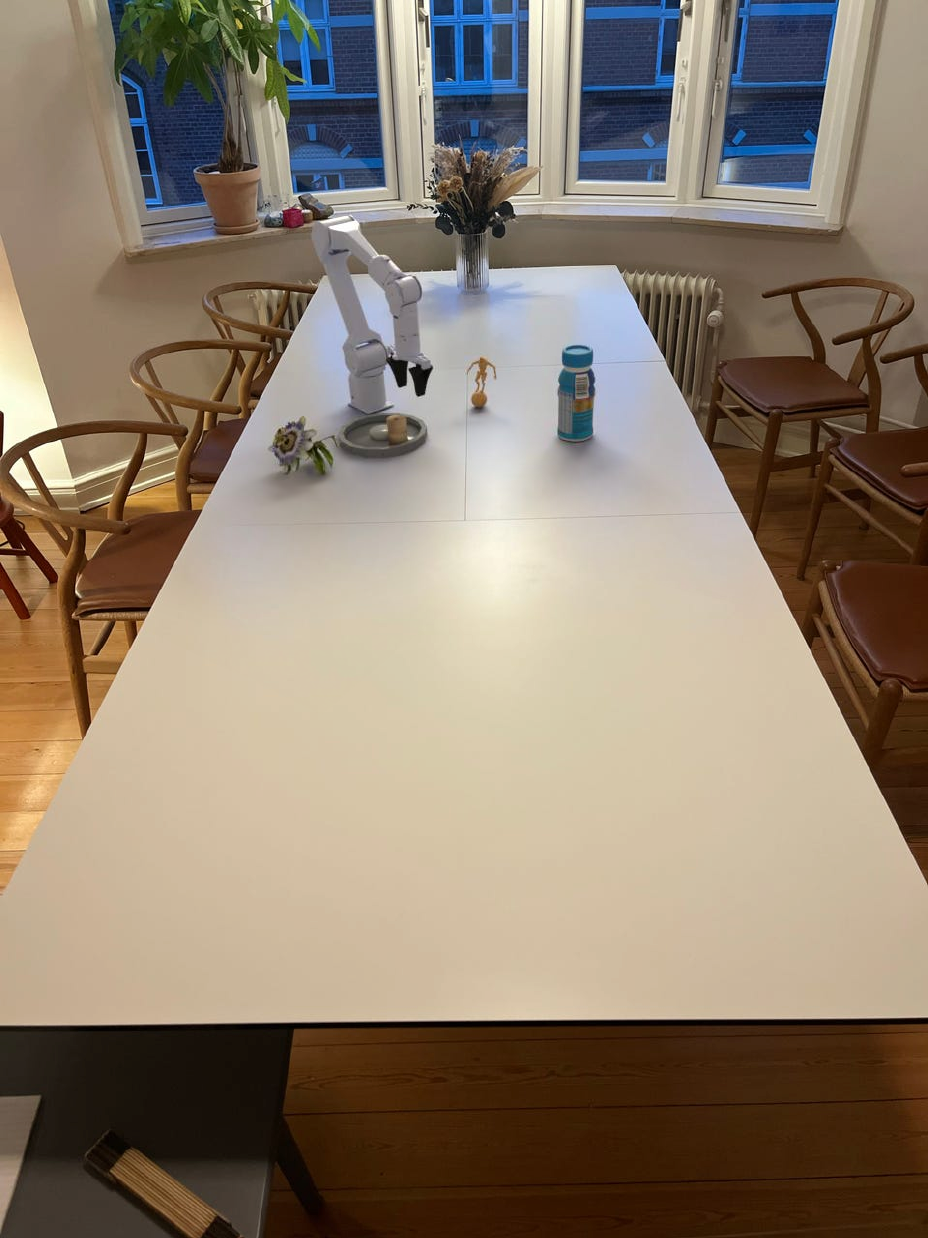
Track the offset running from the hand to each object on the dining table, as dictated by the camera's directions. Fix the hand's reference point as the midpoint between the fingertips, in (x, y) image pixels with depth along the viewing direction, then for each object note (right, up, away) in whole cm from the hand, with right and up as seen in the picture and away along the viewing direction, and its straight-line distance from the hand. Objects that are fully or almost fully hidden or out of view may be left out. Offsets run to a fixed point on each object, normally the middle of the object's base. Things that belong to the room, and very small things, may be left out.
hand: (411, 390), depth 206 cm
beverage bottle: (+38, -12, -4) cm, 40 cm away
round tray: (-6, -11, -1) cm, 13 cm away
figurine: (+17, -1, +12) cm, 21 cm away
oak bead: (-3, -13, -5) cm, 15 cm away
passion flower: (-23, -20, -11) cm, 32 cm away
